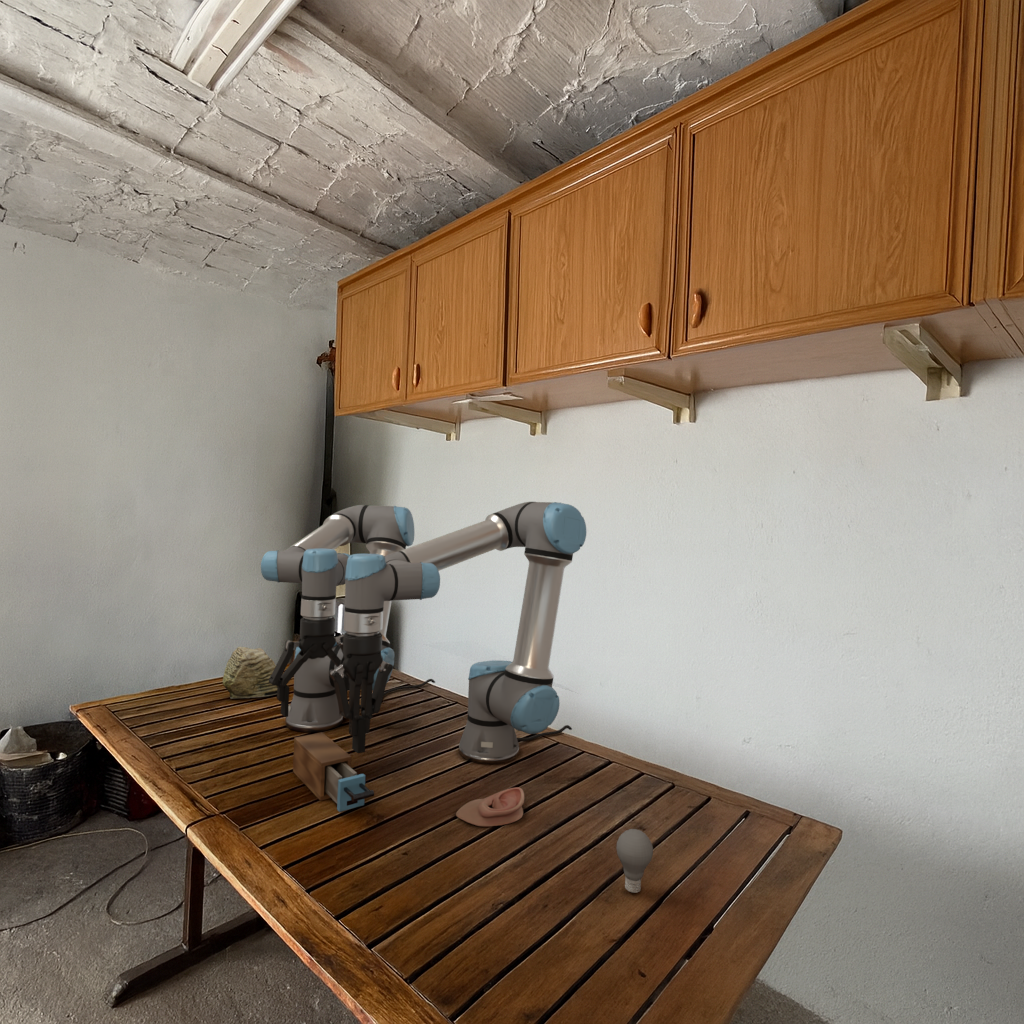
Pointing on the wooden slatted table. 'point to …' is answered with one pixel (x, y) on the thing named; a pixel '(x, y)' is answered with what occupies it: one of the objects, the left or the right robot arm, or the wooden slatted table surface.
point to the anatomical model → (494, 808)
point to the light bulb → (634, 857)
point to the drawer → (345, 786)
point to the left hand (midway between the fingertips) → (314, 709)
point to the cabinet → (316, 760)
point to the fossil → (249, 674)
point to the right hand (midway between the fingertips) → (358, 750)
